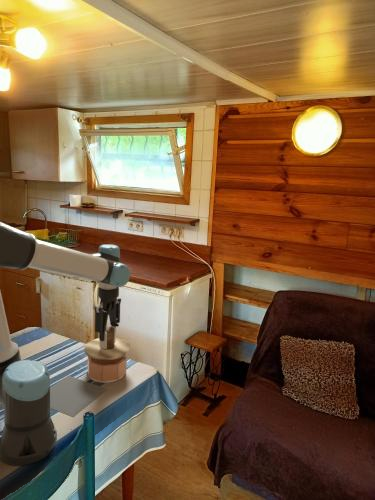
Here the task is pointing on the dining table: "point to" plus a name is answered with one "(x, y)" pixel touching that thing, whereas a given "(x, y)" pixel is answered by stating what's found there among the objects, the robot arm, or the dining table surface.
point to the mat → (73, 395)
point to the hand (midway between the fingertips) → (107, 344)
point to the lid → (112, 349)
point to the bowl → (106, 369)
